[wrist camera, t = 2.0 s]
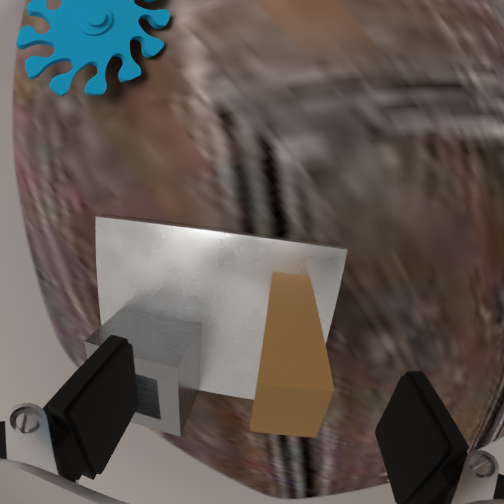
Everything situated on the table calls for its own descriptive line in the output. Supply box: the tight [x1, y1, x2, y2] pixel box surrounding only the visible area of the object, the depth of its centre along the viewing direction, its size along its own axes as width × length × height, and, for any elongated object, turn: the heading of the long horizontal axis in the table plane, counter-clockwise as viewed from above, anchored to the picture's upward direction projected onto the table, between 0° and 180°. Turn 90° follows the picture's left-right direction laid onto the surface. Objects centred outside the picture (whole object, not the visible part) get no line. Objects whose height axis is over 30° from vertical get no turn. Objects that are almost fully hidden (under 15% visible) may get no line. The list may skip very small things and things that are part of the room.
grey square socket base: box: [84, 215, 347, 436], centre depth 17 cm, size 16×12×6 cm
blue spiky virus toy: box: [16, 0, 170, 97], centre depth 13 cm, size 11×6×10 cm
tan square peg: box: [249, 272, 334, 437], centre depth 13 cm, size 2×2×10 cm
